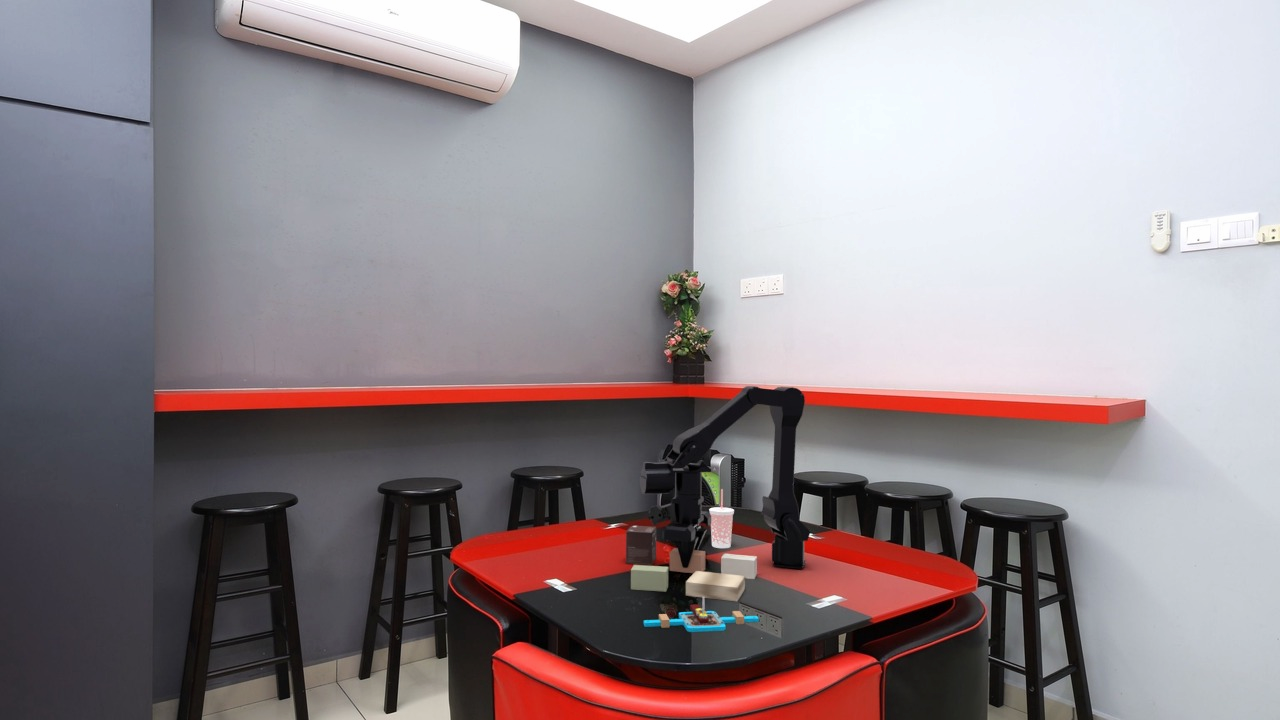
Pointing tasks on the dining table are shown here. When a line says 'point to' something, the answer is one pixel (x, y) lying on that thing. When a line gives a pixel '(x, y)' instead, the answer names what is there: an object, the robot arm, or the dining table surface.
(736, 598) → the beech slab
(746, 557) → the cream brick
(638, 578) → the olive brick
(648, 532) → the box
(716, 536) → the beverage cup
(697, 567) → the terracotta brick
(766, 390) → the robot arm
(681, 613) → the gear mechanism
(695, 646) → the dining table surface
